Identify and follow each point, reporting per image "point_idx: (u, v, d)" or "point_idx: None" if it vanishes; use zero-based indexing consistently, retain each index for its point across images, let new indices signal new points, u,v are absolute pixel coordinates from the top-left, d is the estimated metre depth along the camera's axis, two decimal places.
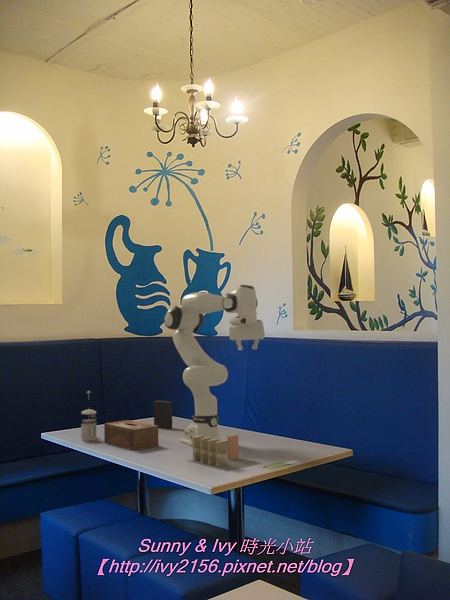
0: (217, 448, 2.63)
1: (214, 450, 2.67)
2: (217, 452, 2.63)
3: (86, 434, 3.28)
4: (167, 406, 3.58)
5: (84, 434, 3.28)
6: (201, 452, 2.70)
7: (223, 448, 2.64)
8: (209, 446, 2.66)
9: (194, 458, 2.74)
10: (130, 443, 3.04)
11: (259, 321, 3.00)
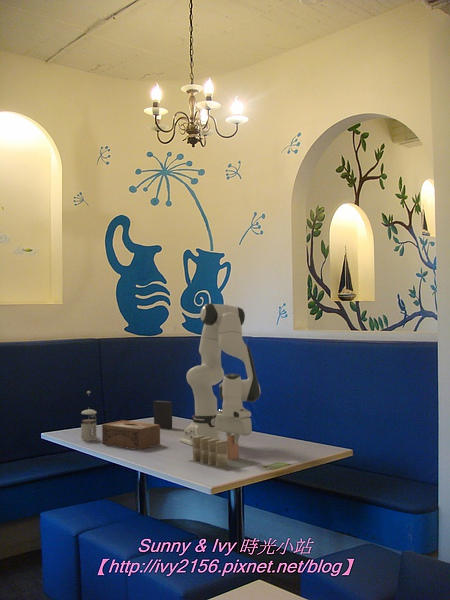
0: (217, 448, 2.63)
1: (214, 450, 2.67)
2: (217, 452, 2.63)
3: (86, 434, 3.28)
4: (167, 406, 3.58)
5: (84, 434, 3.28)
6: (201, 452, 2.70)
7: (223, 448, 2.64)
8: (209, 446, 2.66)
9: (194, 458, 2.74)
10: (134, 443, 3.05)
11: None
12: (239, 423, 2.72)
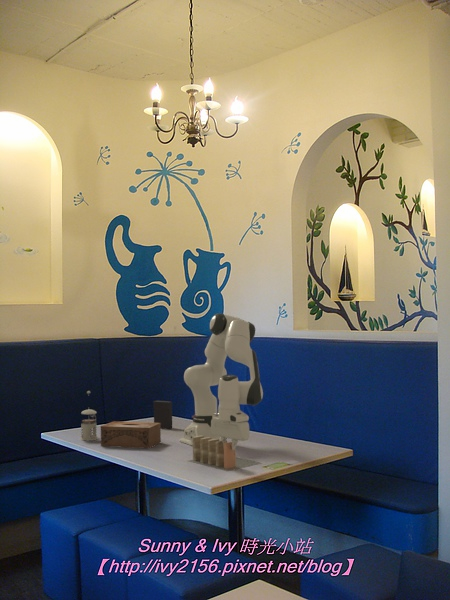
0: (217, 448, 2.63)
1: (214, 450, 2.67)
2: (217, 452, 2.63)
3: (86, 434, 3.28)
4: (167, 406, 3.58)
5: (84, 434, 3.28)
6: (201, 452, 2.70)
7: (223, 448, 2.64)
8: (209, 446, 2.66)
9: (194, 458, 2.74)
10: (143, 442, 3.07)
11: None
12: (236, 427, 2.56)
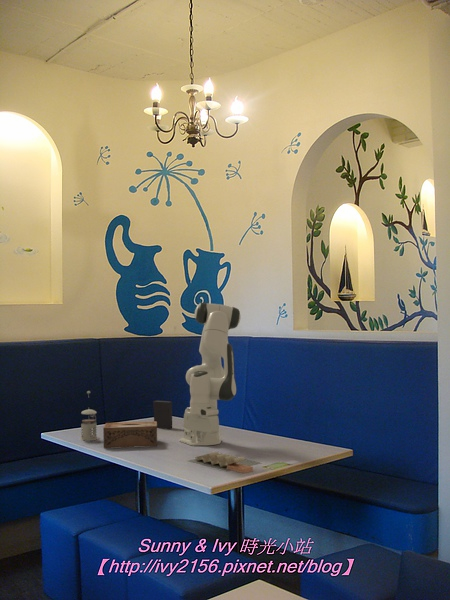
0: (230, 462, 2.56)
1: None
2: (228, 462, 2.57)
3: (86, 434, 3.28)
4: (167, 406, 3.58)
5: (84, 434, 3.28)
6: (209, 459, 2.66)
7: (236, 462, 2.58)
8: (222, 460, 2.60)
9: (196, 459, 2.72)
10: (150, 441, 3.10)
11: None
12: (206, 421, 2.69)
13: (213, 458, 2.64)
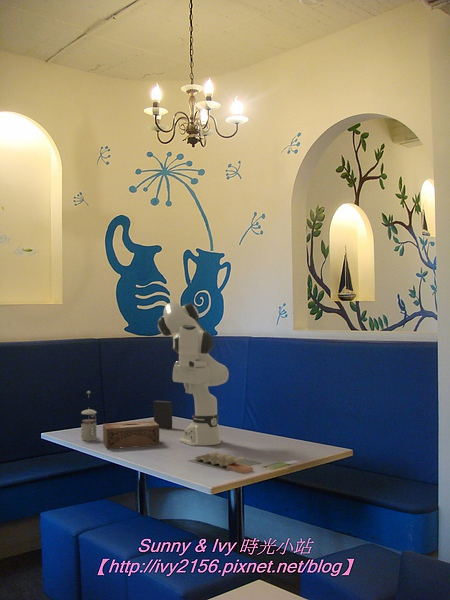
0: (230, 462, 2.56)
1: None
2: (228, 462, 2.57)
3: (86, 434, 3.28)
4: (167, 406, 3.58)
5: (84, 434, 3.28)
6: (209, 459, 2.66)
7: (236, 462, 2.58)
8: (222, 460, 2.60)
9: (196, 459, 2.72)
10: (152, 440, 3.12)
11: None
12: (194, 372, 2.75)
13: (213, 458, 2.64)
